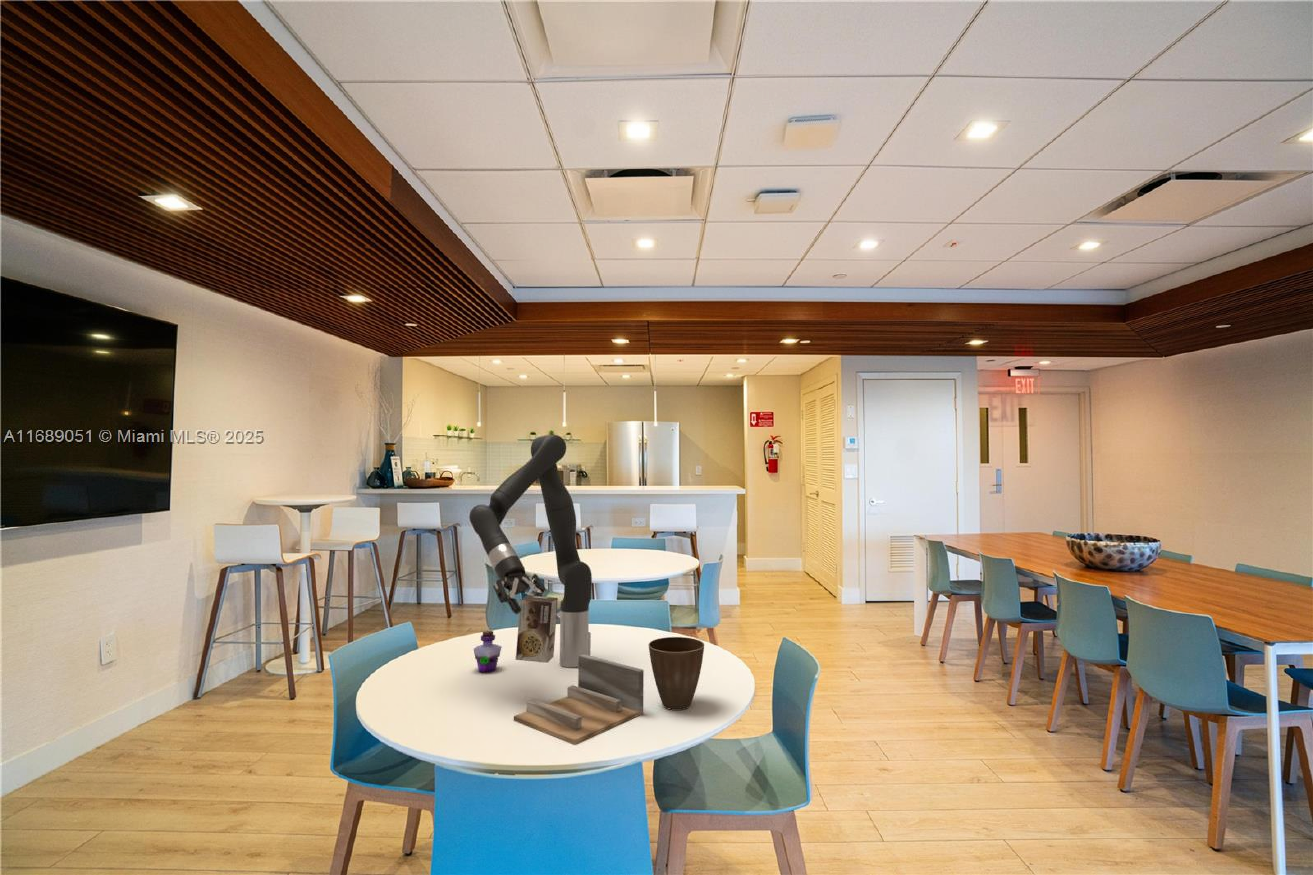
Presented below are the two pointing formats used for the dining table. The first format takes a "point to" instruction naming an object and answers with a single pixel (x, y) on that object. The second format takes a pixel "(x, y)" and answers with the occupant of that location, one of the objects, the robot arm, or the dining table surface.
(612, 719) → the track board
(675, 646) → the plant pot
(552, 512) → the robot arm
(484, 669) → the potion bottle
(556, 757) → the dining table surface
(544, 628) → the coffee box
